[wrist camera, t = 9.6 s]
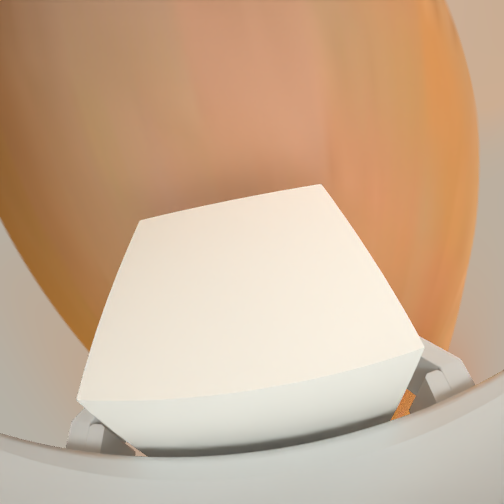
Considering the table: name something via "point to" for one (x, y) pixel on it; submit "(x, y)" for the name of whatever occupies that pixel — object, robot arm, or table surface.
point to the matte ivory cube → (248, 331)
